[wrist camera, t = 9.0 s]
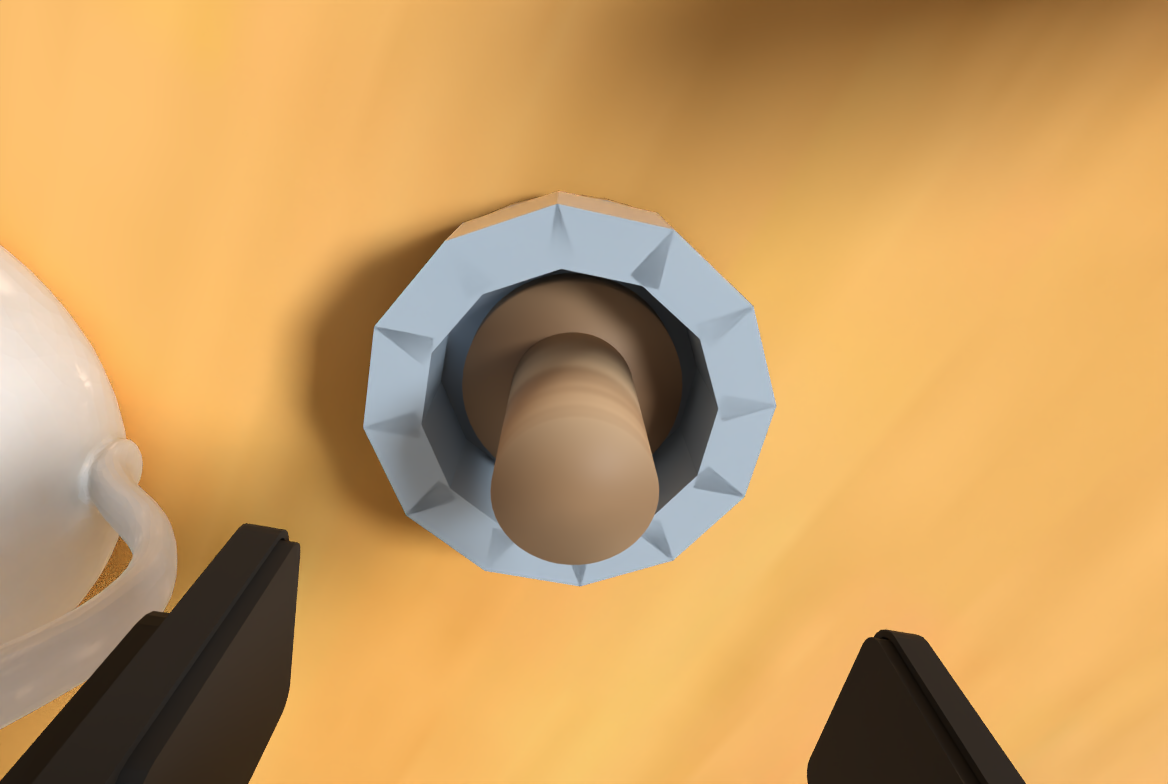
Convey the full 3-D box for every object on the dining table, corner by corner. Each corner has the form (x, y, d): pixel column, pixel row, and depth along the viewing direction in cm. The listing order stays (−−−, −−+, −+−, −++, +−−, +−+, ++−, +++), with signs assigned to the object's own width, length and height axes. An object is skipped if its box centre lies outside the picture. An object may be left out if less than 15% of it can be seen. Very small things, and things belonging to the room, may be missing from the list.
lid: (647, 484, 23) (681, 636, 16) (453, 449, 22) (404, 593, 15) (700, 297, 20) (767, 384, 14) (485, 252, 20) (444, 320, 13)
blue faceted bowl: (684, 532, 24) (706, 607, 21) (384, 480, 23) (349, 548, 20) (779, 237, 20) (826, 262, 17) (424, 157, 19) (391, 166, 16)
